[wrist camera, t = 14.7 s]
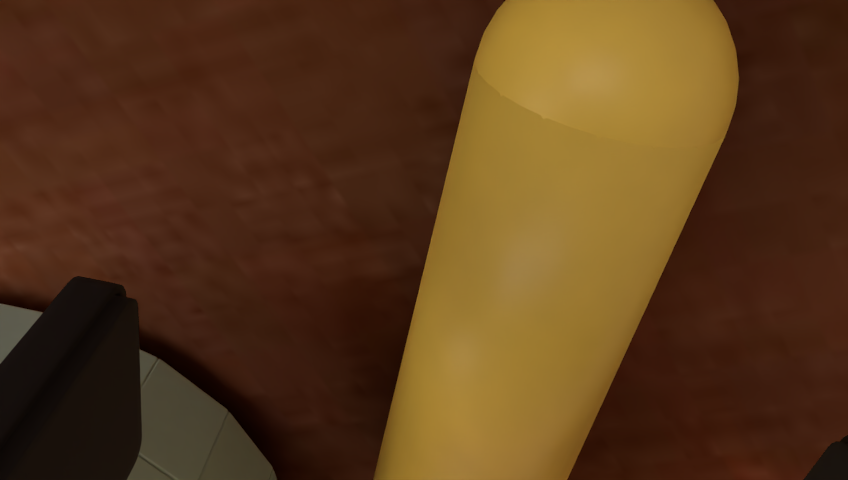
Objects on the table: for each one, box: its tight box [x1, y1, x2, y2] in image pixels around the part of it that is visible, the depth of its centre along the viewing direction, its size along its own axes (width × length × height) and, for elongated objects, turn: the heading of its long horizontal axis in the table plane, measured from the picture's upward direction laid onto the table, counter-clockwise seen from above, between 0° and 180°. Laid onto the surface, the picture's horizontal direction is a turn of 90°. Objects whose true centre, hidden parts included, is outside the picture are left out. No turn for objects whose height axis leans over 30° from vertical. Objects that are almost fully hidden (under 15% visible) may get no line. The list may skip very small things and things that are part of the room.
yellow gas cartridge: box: [373, 0, 739, 480], centre depth 13 cm, size 14×4×4 cm, turn 169°
